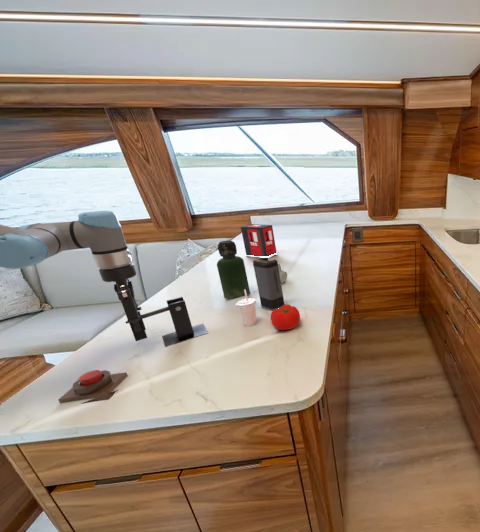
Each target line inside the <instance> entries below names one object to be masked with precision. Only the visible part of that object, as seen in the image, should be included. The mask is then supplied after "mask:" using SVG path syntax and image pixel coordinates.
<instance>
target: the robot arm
mask: <svg viewBox="0 0 480 532" xmlns="http://www.w3.org/2000/svg"><path fill="white" fill-rule="evenodd" d="M77 217H78V220H73V221H61V222H59V221H57V222H45V223H40V222H39V223H38V222H37V223H32V224H31V223H30V224H26V225H20V226H18V227H12V226H8V225H4V224H0V268H4V269H10V270H19V269H24V268H28V267H32V266H34V265H37V264H40V263H42V262H43V261H44V260H46V259H49V258H51V257H54V256H56V255H58V254H60V253H62V252H64V251H65V252H66V251H74V250H80V249H90V251H91V254H92V258H93V260H94V262H95V265H96V268H99V270H98V272H99V275H100V278H101V280H102V281H103V282H105V283H112V282H113V283H114V284H113V290H114V292H115V293H116V295H117V298H118V300H119V301H120V302H121V306H122V308H123V311H124V313H125V316H126V319H127V320H126V321H125V324H126V325H127V324H129V327H130V329H131V332H132V334H133V335H132V336H133V337H134V340H135V342H139V341H141V340H145V339H148V336H147V332H146V330H147V328H146V326H145V322H144V319H141V318H140V317H139V316H140V315H142V314H141V311H142V310H143V309H142V307H141V306H139V304H138V303H137V301H136V298H135V290H134V285H133V282H132V281H131V280H130V279H132V278H133V277H136V276H137V271H136V267H135V265H134V263H132V261H133V260H132V256H131V255H133V252H132V251H131V250H129V247H128V245H127V241H126V238H125V235H124V232H123V229H122V225H121V223H120V221H119V219H118V216H117V214H116V213H115V212H114V211H111V210H96V211H86V212H80V213H79V214H78V215H77Z"/></svg>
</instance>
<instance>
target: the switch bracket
mask: <svg viewBox="0 0 480 532" xmlns="http://www.w3.org/2000/svg"><path fill="white" fill-rule="evenodd" d="M179 300H180V301H179ZM176 301H179V302H176ZM172 302H176V303H172ZM170 303H172V304H170ZM166 304H167V307H169V314H170V317H171V321H172V324H173V327H174V330H175V331H174V332H171V333H167V334H163V335H162V336H161V337H162V340H163V345H164V347H165V348H168V347H170V346H173V345H176V344H179V343H182V342H185V341H189V340H192V339H194V338H198V337H201V336H204V335H207V334H209V331H208V329H207V328H206V326H205V324H204V323H200V324H196V325H194V326H192V321H191V319H190V315H189V311H188V308H187V304H186V301H185V300H184V298H183V296H179V297H176V298H171V299H166Z"/></svg>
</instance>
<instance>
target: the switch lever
mask: <svg viewBox="0 0 480 532" xmlns="http://www.w3.org/2000/svg"><path fill="white" fill-rule="evenodd" d="M179 301H180V300H179ZM179 301H176V302H179ZM176 302H172V303H176ZM172 303H170V304H172ZM168 311H169V307H168V306H165V307H162V308H159V309H155V310H153V311H149V312H146V313H143V314H141V315H140V316H139V317H140V318H141V319H142V320H144V319H146V318H150V317H153V316H156V315H159V314H162V313H166V312H168ZM169 312H170V311H169Z"/></svg>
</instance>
